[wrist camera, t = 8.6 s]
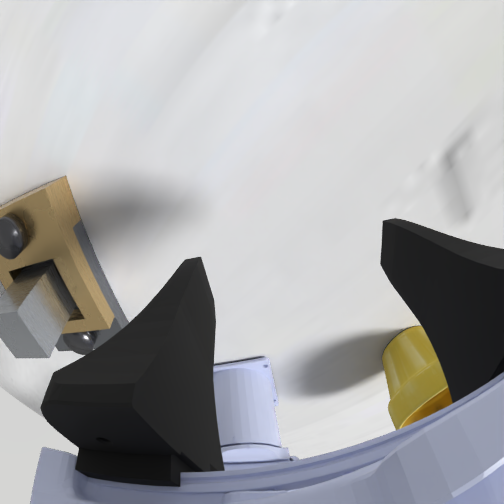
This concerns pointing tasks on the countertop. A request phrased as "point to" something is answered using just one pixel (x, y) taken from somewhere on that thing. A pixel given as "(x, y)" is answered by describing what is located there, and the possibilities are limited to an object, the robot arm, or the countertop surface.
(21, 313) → the grey metal block
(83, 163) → the countertop surface
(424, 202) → the countertop surface
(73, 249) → the brass plate with knob
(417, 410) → the plant pot
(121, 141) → the countertop surface
